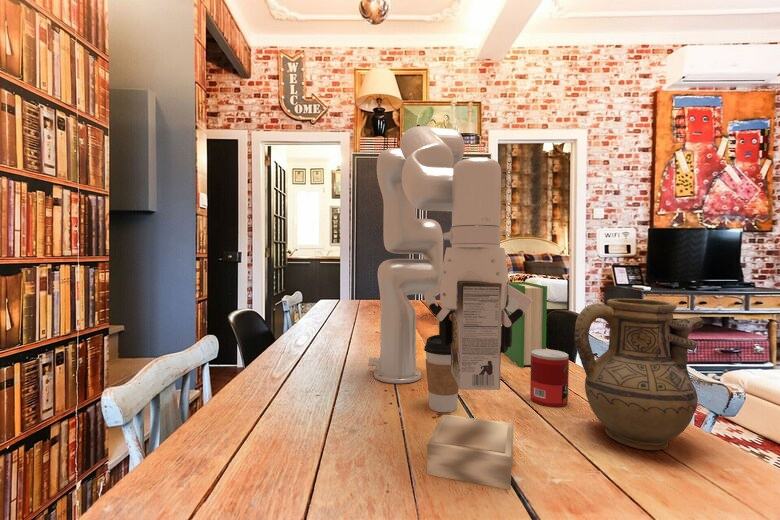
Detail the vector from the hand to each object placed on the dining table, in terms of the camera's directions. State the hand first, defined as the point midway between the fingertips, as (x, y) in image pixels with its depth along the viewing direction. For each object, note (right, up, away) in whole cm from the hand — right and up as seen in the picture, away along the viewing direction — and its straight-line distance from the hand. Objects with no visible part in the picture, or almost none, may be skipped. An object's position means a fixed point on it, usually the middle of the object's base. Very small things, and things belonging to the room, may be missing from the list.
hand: (474, 347), depth 65 cm
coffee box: (0, -5, 0) cm, 5 cm away
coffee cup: (-2, -18, +24) cm, 30 cm away
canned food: (+23, -18, +28) cm, 40 cm away
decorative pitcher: (+31, -19, +9) cm, 37 cm away
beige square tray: (0, -19, 0) cm, 19 cm away
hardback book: (+29, -18, +64) cm, 73 cm away
